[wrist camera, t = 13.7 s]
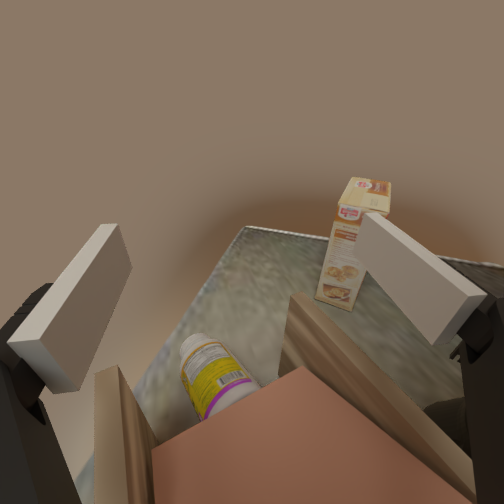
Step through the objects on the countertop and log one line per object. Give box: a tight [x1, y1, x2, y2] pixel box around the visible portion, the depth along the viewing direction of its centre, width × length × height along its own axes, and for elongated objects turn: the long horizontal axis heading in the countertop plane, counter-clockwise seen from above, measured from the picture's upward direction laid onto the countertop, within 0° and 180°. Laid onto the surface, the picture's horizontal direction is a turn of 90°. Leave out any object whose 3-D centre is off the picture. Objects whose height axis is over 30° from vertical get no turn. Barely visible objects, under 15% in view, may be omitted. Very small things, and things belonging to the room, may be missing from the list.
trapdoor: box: [151, 365, 473, 504], centre depth 15 cm, size 15×16×1 cm
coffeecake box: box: [315, 177, 391, 312], centre depth 44 cm, size 15×7×20 cm, turn 153°
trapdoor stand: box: [94, 291, 477, 504], centre depth 18 cm, size 19×20×15 cm
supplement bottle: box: [180, 333, 261, 422], centre depth 28 cm, size 7×7×13 cm
